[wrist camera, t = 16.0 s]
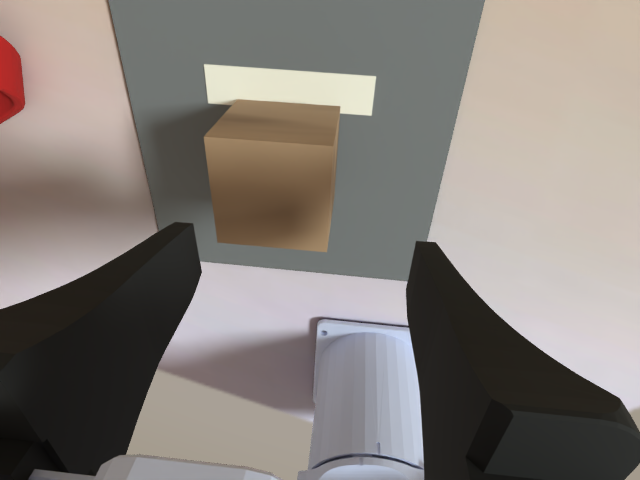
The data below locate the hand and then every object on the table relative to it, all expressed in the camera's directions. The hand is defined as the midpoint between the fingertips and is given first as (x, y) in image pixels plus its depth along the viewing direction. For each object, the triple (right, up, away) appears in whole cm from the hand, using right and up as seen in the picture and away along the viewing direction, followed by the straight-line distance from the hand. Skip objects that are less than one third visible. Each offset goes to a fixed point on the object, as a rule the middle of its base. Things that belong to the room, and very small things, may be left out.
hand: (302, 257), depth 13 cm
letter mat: (-1, +5, +8) cm, 10 cm away
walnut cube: (-1, +5, +8) cm, 9 cm away
